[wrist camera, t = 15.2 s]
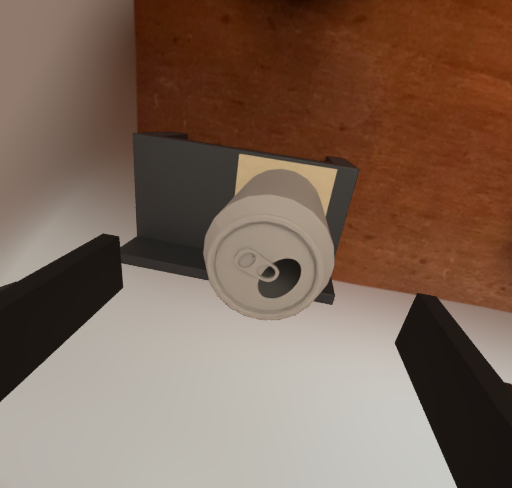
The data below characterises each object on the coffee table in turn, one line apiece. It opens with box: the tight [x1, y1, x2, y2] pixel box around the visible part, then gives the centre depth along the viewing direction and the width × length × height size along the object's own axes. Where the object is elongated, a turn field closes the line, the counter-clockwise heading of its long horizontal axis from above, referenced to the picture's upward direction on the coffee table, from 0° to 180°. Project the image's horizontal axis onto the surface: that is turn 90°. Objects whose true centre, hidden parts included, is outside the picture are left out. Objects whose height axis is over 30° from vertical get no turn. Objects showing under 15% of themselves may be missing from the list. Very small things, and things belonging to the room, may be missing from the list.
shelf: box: [120, 132, 359, 305], centre depth 28 cm, size 20×11×12 cm, turn 82°
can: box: [203, 169, 334, 320], centre depth 20 cm, size 8×8×12 cm
